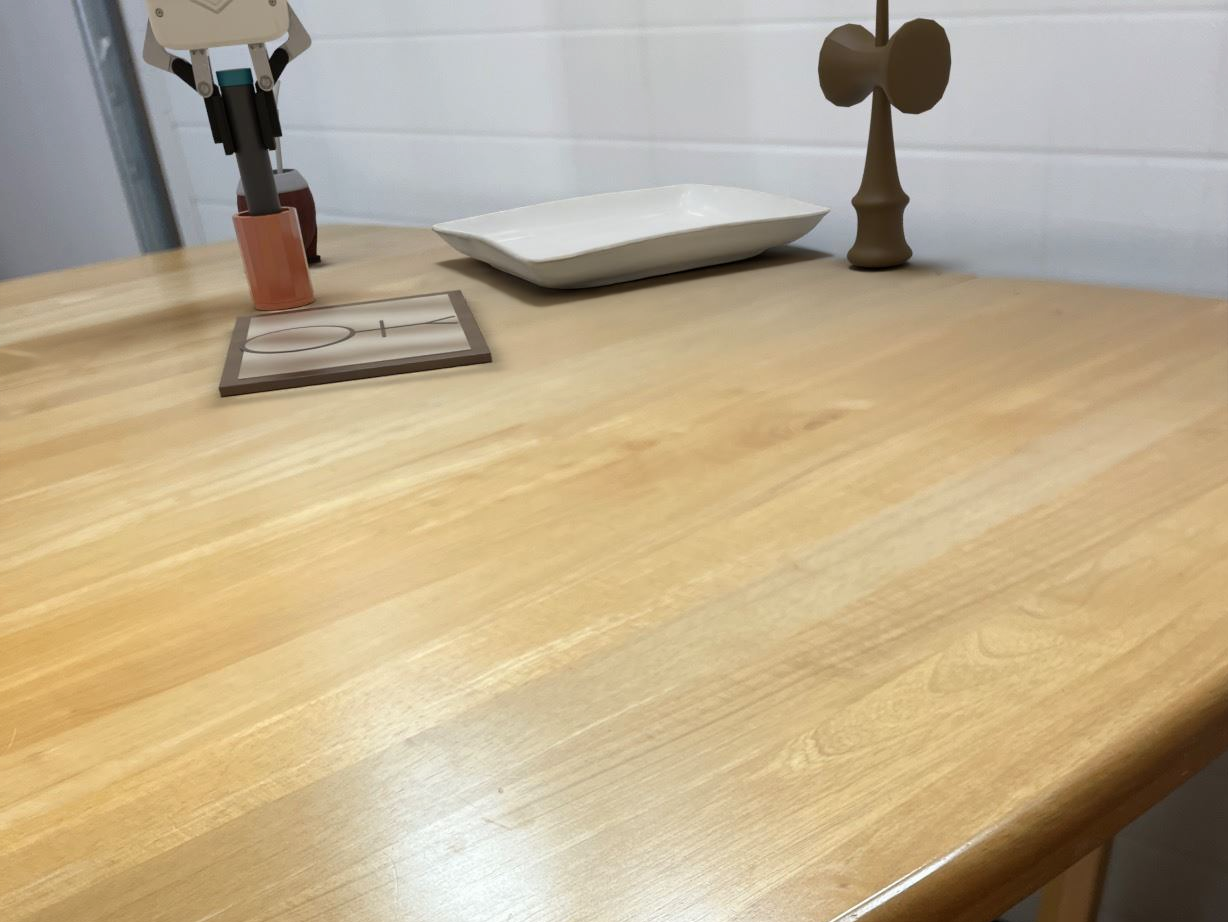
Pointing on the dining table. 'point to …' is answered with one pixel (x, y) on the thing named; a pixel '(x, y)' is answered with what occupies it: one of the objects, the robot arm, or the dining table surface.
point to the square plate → (631, 233)
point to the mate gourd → (291, 197)
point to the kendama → (884, 115)
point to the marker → (249, 141)
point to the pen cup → (274, 259)
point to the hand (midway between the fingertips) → (251, 148)
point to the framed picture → (351, 342)
